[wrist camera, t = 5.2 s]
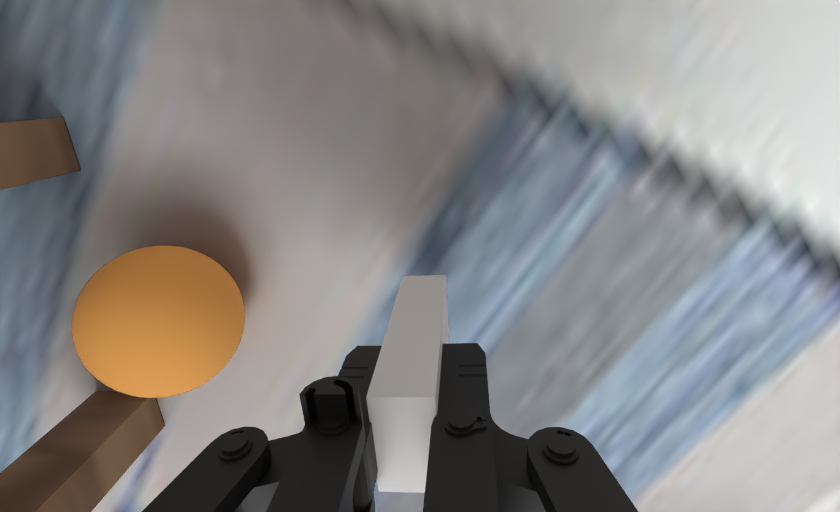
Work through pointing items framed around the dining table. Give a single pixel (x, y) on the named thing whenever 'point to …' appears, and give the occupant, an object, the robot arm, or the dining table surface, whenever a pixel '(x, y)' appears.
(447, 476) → the robot arm
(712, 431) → the dining table surface
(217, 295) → the ball
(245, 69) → the dining table surface
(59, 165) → the bridge
